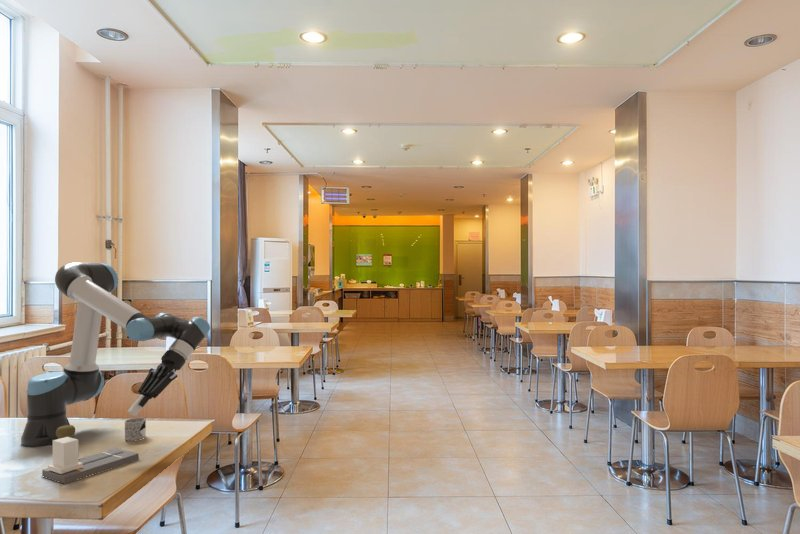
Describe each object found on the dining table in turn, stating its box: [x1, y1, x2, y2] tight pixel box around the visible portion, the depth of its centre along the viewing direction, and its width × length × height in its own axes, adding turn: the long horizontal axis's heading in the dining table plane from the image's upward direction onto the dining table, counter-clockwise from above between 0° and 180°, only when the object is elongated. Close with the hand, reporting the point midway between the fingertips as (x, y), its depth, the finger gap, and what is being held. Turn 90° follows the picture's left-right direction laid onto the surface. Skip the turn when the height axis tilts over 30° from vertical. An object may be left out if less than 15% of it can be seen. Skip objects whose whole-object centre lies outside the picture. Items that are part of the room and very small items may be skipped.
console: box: [41, 447, 140, 485], centre depth 156 cm, size 22×12×2 cm, turn 150°
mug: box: [124, 417, 147, 442], centre depth 187 cm, size 10×7×7 cm, turn 22°
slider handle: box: [47, 437, 83, 474], centre depth 149 cm, size 6×7×8 cm
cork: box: [56, 424, 76, 439], centre depth 163 cm, size 6×6×11 cm
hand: (131, 414), depth 166 cm, fingers closed
